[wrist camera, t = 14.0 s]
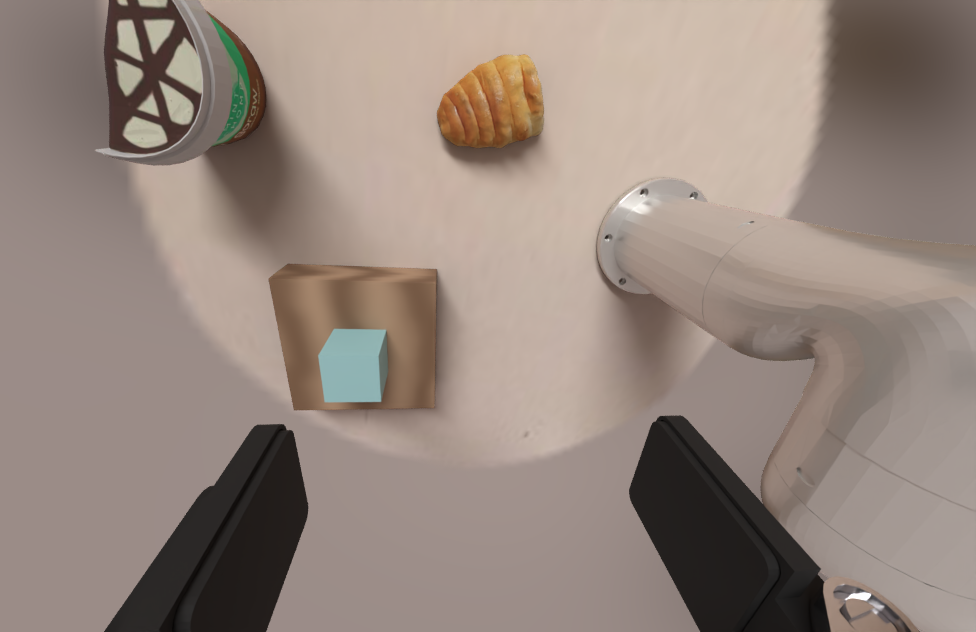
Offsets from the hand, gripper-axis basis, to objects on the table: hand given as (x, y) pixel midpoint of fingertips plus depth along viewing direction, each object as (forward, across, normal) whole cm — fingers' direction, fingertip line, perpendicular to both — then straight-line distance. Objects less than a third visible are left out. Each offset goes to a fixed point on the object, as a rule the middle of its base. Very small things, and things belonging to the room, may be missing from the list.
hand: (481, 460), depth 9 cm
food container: (+31, +18, -10) cm, 37 cm away
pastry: (+31, -4, -11) cm, 33 cm away
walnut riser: (+30, +9, +12) cm, 34 cm away
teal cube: (+26, +9, +12) cm, 30 cm away
